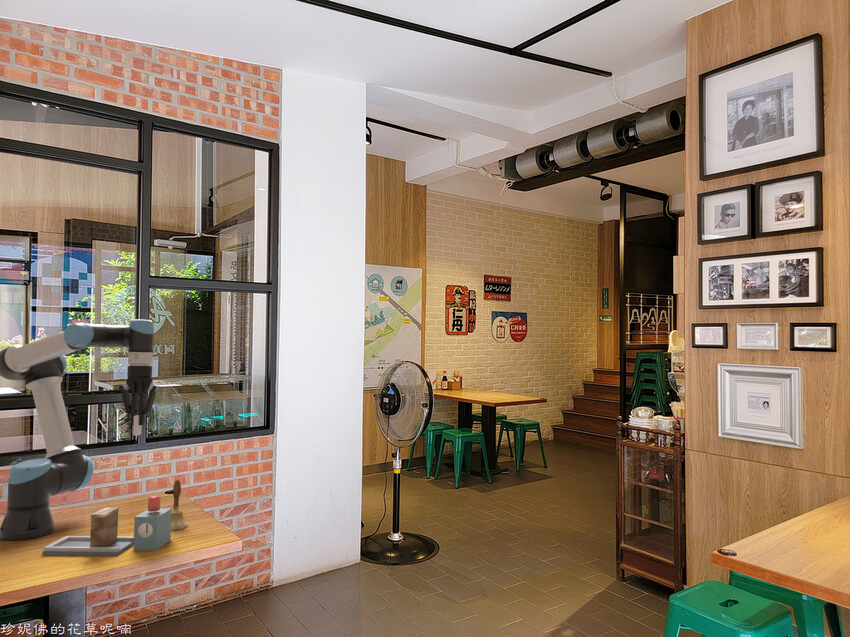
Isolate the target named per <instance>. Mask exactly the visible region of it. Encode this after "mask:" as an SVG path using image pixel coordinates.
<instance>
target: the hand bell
mask: <svg viewBox="0 0 850 637" xmlns="http://www.w3.org/2000/svg"><path fill="white" fill-rule="evenodd" d="M181 492H182V486H181V481H180V479H176V480H175V481H174V484H173V487H172V495H173V505H172V506H173V507H172V514H171V531H178V530H182V529H185V528H187V527H188V526H189V524H188V523H187V522H186V520H185V519H184V513H183V509H180V508H179V502H180V501H179V500H180V496H181Z"/></svg>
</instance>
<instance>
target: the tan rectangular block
mask: <svg viewBox="0 0 850 637" xmlns="http://www.w3.org/2000/svg"><path fill="white" fill-rule="evenodd" d="M119 509H120V508H119V507H109V506H108V507H104V508H102V509H99V510H98V511H95V512H94V513H91V514H90V535H89V536H90V547H107V546H109V545H110V544H112V543H114V542H115V541H117V536H118V532H119V531H118V528H119Z"/></svg>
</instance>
